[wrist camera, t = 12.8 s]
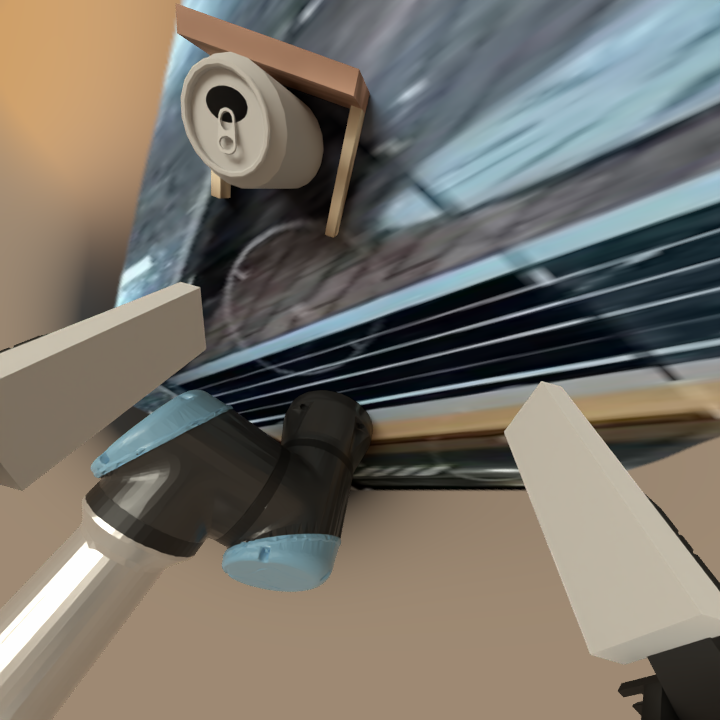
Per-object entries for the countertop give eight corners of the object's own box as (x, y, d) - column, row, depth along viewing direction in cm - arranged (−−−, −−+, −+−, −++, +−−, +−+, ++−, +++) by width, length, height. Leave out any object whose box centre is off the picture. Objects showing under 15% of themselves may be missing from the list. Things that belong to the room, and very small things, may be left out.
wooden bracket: (337, 235, 32) (323, 243, 27) (222, 195, 32) (186, 196, 27) (369, 93, 25) (359, 69, 20) (223, 40, 25) (175, 3, 20)
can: (328, 102, 26) (275, 47, 16) (323, 193, 30) (279, 196, 20) (252, 91, 27) (155, 32, 17) (258, 183, 31) (182, 180, 21)
